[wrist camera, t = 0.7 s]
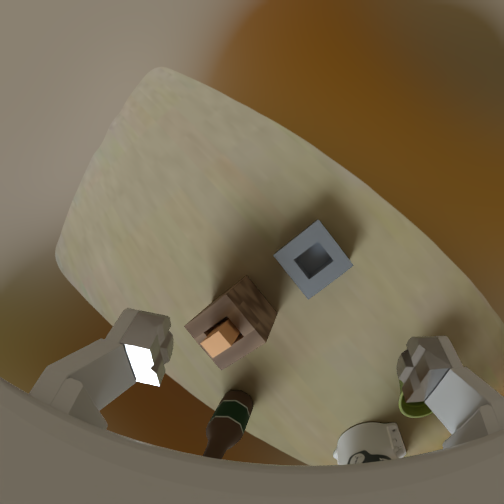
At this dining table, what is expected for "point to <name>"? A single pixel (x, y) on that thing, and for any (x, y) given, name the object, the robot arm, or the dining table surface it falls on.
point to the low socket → (313, 259)
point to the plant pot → (413, 407)
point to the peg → (220, 338)
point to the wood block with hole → (236, 321)
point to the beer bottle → (228, 423)
